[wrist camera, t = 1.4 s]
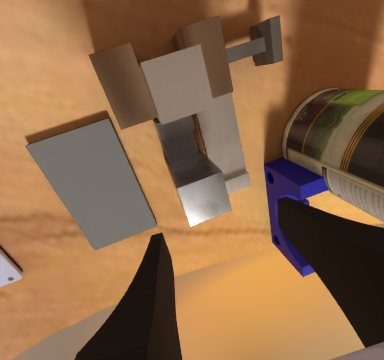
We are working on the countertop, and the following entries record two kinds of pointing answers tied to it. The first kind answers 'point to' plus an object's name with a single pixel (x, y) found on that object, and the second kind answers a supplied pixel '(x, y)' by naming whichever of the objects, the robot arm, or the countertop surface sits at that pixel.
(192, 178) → the gray stepped bracket
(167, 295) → the robot arm
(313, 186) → the blue cradle bracket
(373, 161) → the coffee can
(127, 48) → the vise
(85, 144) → the pad
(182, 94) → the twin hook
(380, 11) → the countertop surface
